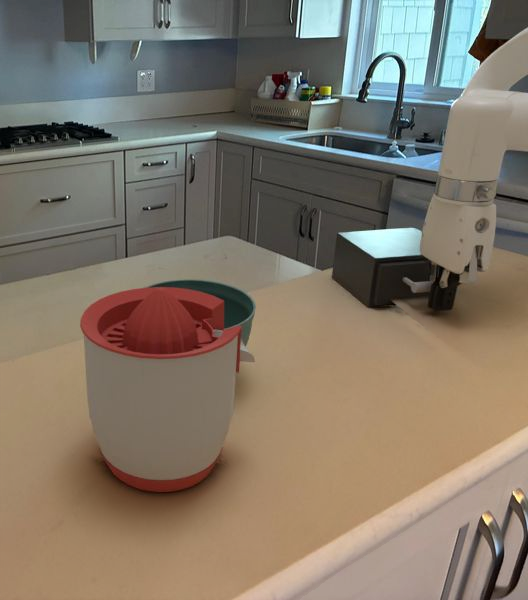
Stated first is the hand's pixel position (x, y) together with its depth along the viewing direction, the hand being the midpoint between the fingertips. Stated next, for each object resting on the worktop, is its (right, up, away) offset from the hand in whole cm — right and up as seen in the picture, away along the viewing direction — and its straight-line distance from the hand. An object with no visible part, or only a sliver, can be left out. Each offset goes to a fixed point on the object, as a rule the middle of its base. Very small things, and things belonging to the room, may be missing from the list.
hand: (439, 308), depth 93 cm
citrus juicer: (-43, -16, -27) cm, 53 cm away
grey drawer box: (-2, +3, +14) cm, 15 cm away
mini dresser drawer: (-1, +3, +10) cm, 11 cm away
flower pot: (-39, -9, -11) cm, 42 cm away
